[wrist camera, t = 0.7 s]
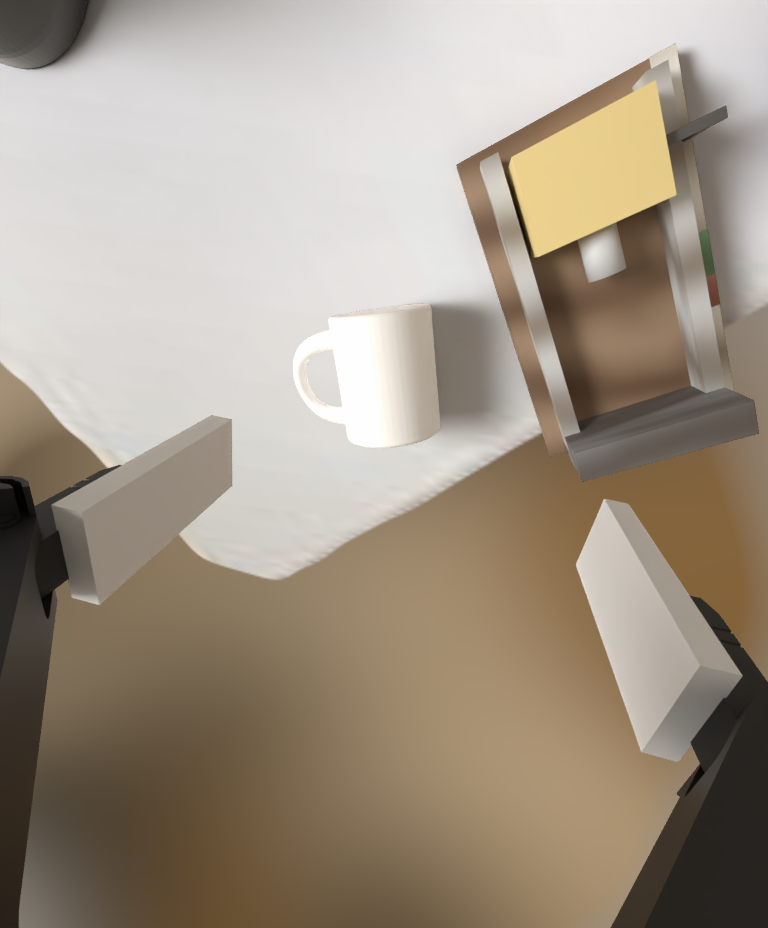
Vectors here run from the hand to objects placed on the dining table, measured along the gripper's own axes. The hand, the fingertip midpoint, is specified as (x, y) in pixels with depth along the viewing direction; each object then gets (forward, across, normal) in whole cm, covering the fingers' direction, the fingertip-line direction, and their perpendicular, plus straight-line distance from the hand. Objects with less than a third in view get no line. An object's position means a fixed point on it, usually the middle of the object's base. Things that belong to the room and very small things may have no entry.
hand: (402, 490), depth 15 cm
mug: (+25, -6, -2) cm, 26 cm away
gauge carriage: (+24, +9, +13) cm, 28 cm away
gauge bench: (+25, +10, +8) cm, 28 cm away
